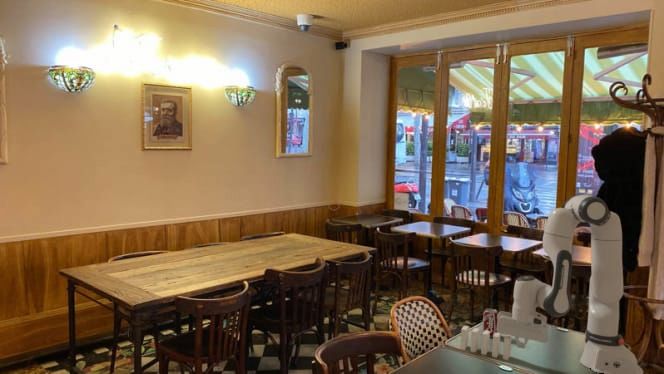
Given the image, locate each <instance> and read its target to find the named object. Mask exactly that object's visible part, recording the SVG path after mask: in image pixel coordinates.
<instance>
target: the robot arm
mask: <svg viewBox="0 0 664 374" xmlns="http://www.w3.org/2000/svg"><path fill="white" fill-rule="evenodd" d="M580 223H587V224H589V226H590V229H591V230H590V231H591V232H590V233H591V234H590V262H591V264H590V265H591V267H590V268H591V276H590V278H589V288H588V289H589V290H588V315H587V326H586V328H585V329H586V330H585V333H584V342H585V344H584V349H583V352H582V355H581V357H580V359H579V361H580V363H581V364H582V365H583V366H584V367H586V368H588V369H590V368H591V369H590V370H592V371H593V372H595V373H596V372H597V373H596V374H599V373H604V374H605V373H608V374H644V369H643V368H641V366H639V365H638V361H637V358H636V356H635V354H634V352H632V351H631V350H630V349H629V348H627V347H626V346H625V340H624V338H623V335H622V334H619V333H618V332H619V323H620V322H619V321H620V300H621V298H622V297H623V295H624V274H623V231H622V224H621V219H620V216H619V215H618V213H615V212H613V211H610V210H609V208H608V205H607V204H606V202H605V201H604V200H603V199H601V198H600V197H599V196H593V195H589V194H575V195H574V194H573V195H572V196H569V198H568V199H567V200H566V201H565V202H564V203H563V205H562V206H561V207H557V208H553V209H552V210H551V211H550V213H549V215H548V218H547V220H546V224H545V227H544V231H543V236H542V249H543V250H544V252H545V254H546V255H547V256H548V257H549V259H550V261H551V262H552V266H553V277H552V285H550V284H547V283H545V282H542V281H541V280H539V279H538V278H536V277H535V276H533V275H521V276H519V277H517V278H516V279H515V282H514V289H513V296H512V297H513V303H512V309H511V310H512V312H510V311H504V310H500V311H498V312H497V313H498V314H497V319H498V323H497V333H501V335H505V336H506V335H510V336H512V337H514V340H515V342H516V343H517V345H516V347H517V348H520V349H525V348H526V345H527V343H528V342H529V340H530V341H535V342H539V343H545V344H547V343H548V342H549V340H550V339H549V338H550V330H549V325H548V323H547V320H548V318H547V316H546V315H543V314H541V313H540V312H537V311H536V310H537V309H536V308H541V309H543V310H544V311H545V312H546V313H547V314H549V315H550V316H551V317H553V318H561V317H562V316H563V317H564V316H566V314H568V312H569V311H570V310H571V306H572V300H571V294H570V291H571V290H570V289H571V288H570V287H571V280H572V279H571V278H572V269H573V255H572V250H573V249H572V248H573V240H574V236H575V231H576V228H577V226H578V225H579V224H580ZM519 339H523V341H524V342H520V340H519Z"/></svg>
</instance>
